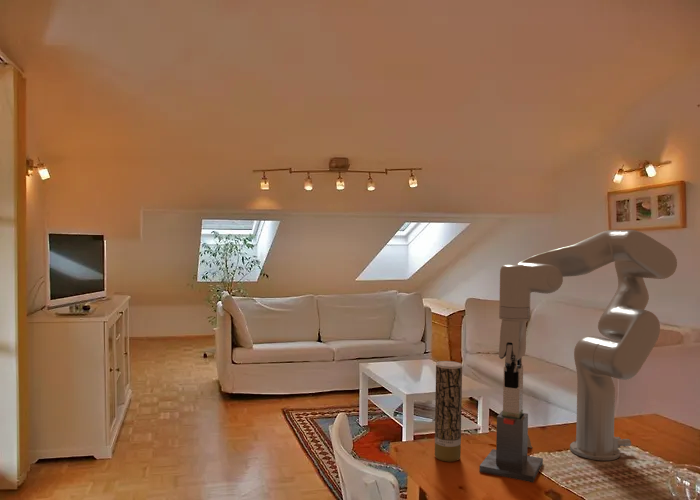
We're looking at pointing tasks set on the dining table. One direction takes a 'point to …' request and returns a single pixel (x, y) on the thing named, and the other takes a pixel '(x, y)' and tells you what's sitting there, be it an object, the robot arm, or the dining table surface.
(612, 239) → the robot arm
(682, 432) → the dining table surface
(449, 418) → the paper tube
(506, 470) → the stand
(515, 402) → the column
